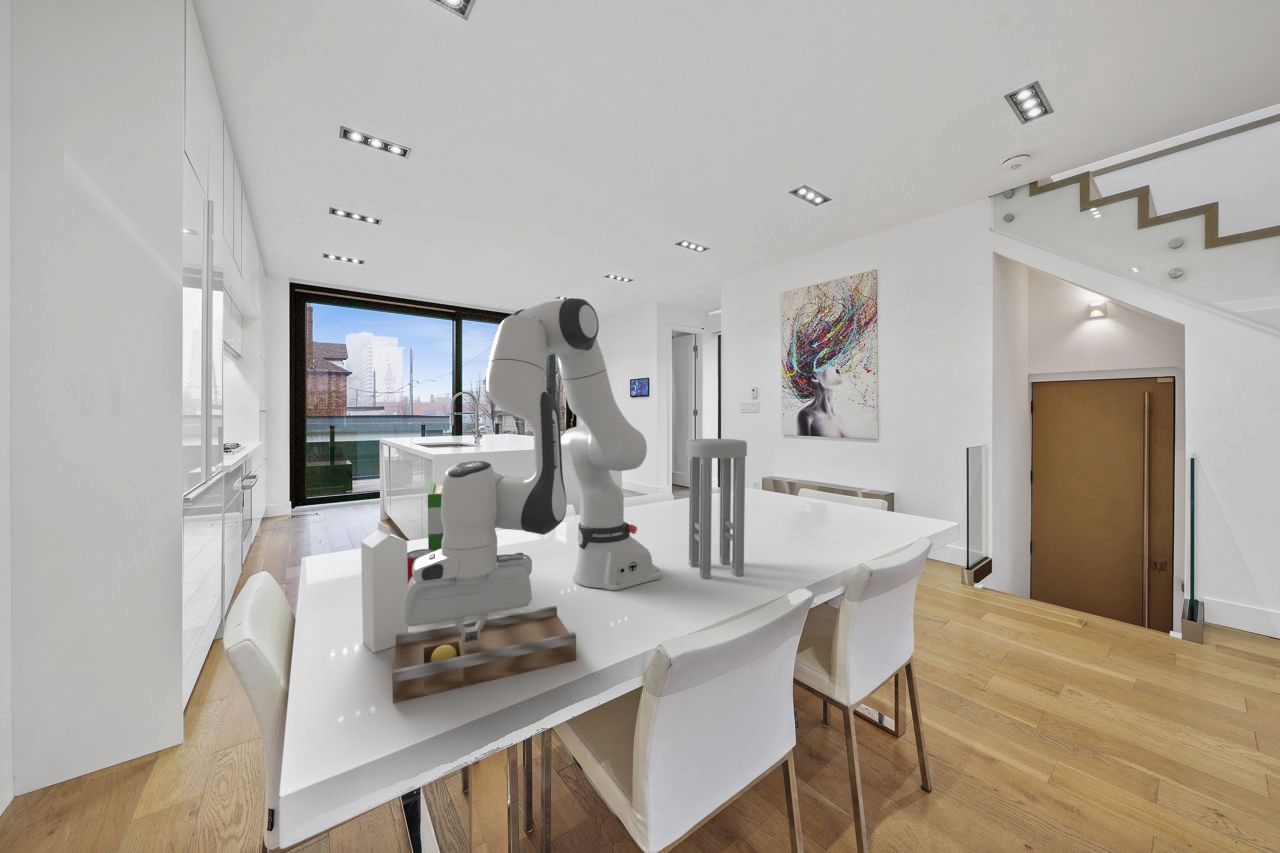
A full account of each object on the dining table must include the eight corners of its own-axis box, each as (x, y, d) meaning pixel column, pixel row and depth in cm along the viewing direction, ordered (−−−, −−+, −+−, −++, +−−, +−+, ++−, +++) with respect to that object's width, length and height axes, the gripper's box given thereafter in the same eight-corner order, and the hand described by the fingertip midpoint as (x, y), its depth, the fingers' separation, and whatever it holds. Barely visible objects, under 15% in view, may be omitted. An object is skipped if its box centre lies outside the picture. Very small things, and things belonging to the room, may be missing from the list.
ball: (454, 637, 80) (428, 644, 79) (456, 648, 77) (429, 656, 75) (457, 659, 81) (431, 667, 79) (459, 671, 77) (432, 679, 75)
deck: (555, 628, 93) (555, 605, 93) (576, 660, 81) (576, 634, 81) (396, 660, 81) (395, 634, 81) (392, 703, 69) (392, 673, 69)
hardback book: (432, 574, 123) (431, 482, 122) (462, 571, 125) (461, 481, 124) (429, 600, 106) (427, 494, 105) (464, 595, 109) (463, 492, 108)
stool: (697, 582, 118) (698, 442, 116) (679, 562, 133) (680, 438, 132) (754, 577, 121) (756, 442, 120) (731, 559, 136) (732, 438, 135)
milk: (396, 631, 91) (395, 518, 91) (409, 642, 87) (408, 524, 87) (361, 642, 87) (360, 524, 86) (373, 654, 83) (371, 529, 82)
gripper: (528, 546, 86) (528, 620, 87) (403, 561, 78) (404, 643, 78) (535, 556, 81) (536, 635, 81) (402, 573, 72) (403, 662, 73)
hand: (470, 639), depth 80 cm, fingers closed
